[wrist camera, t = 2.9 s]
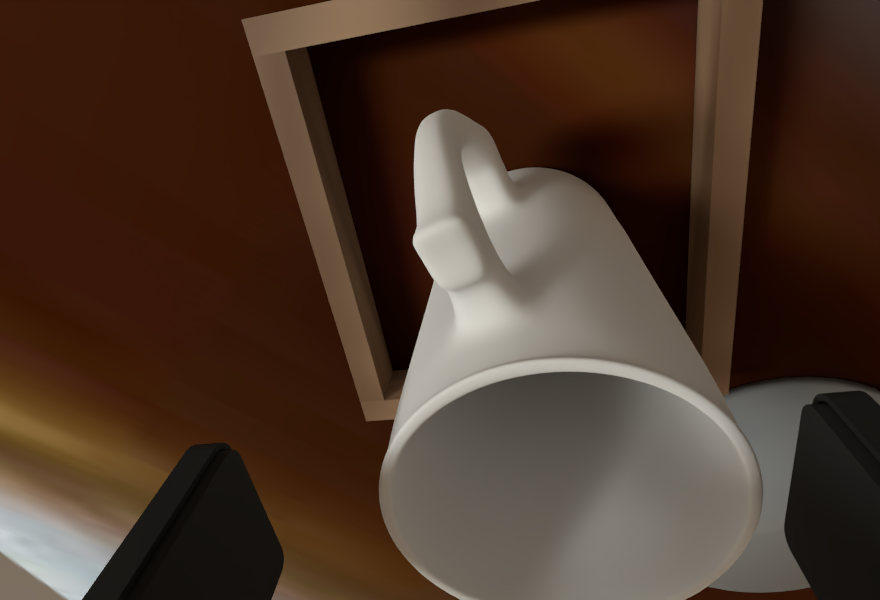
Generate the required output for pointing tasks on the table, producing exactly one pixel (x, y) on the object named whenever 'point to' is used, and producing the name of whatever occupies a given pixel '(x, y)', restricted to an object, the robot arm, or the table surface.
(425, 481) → the mug
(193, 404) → the table surface
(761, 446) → the grey round disc
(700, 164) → the corral
